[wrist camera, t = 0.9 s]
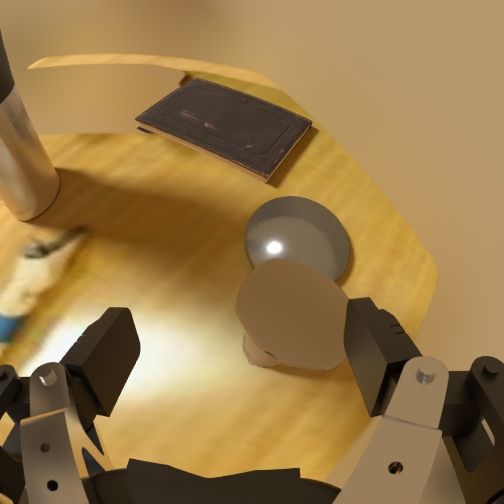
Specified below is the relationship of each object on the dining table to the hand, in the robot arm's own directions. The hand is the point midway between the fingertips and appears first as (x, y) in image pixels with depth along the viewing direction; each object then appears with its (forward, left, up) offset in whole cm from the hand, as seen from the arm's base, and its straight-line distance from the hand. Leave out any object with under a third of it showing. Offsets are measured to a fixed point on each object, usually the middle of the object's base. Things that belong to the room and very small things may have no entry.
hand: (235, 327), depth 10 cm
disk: (-9, +13, -18) cm, 24 cm away
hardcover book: (-32, +13, -19) cm, 39 cm away
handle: (0, +4, -18) cm, 18 cm away
